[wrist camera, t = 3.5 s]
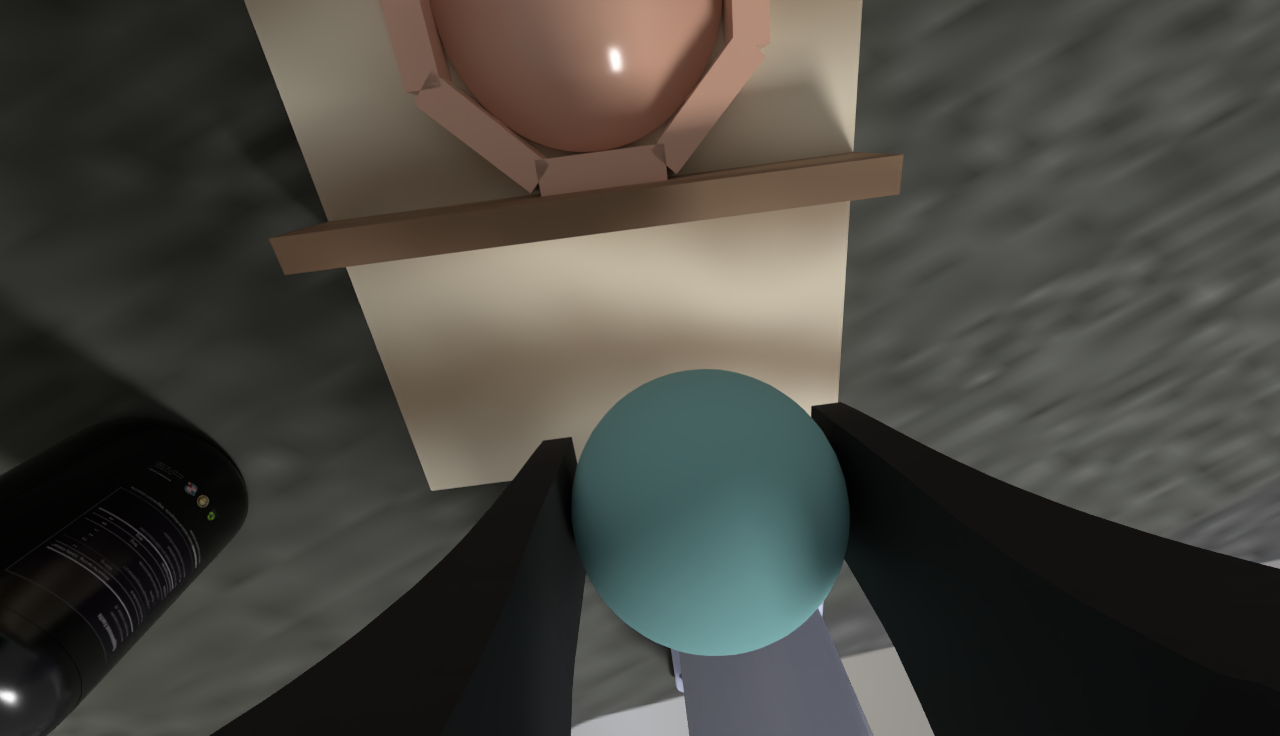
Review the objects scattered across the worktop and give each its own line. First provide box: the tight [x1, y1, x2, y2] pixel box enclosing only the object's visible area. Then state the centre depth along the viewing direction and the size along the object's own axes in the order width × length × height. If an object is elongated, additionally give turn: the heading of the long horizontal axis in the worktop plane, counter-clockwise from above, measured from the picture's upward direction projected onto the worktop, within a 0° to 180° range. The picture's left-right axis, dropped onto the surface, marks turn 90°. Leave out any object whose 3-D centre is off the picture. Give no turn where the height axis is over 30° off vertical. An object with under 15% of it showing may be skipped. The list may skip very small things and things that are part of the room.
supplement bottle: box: [0, 420, 248, 736], centre depth 15 cm, size 7×7×12 cm
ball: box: [571, 369, 850, 656], centre depth 9 cm, size 5×5×5 cm
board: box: [244, 0, 903, 491], centre depth 15 cm, size 22×17×4 cm
